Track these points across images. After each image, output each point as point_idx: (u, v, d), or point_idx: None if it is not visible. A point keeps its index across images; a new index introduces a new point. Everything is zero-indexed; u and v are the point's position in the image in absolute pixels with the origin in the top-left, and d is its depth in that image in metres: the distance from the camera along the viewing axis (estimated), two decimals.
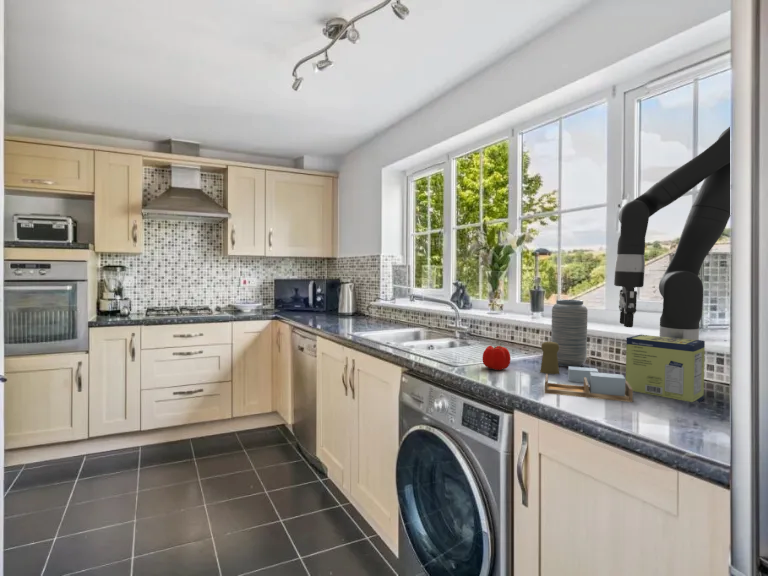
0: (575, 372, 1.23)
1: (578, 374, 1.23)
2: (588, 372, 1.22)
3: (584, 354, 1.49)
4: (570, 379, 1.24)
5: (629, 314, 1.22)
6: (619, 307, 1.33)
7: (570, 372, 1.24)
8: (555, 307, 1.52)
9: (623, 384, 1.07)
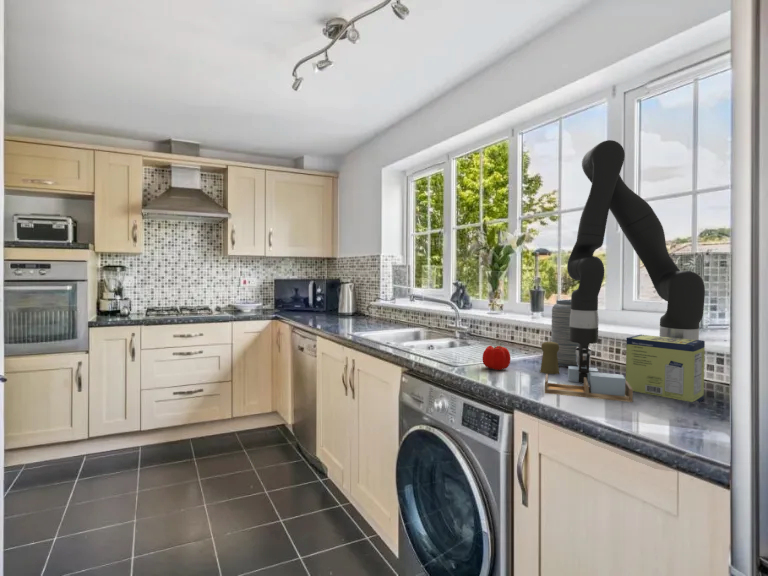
0: (575, 372, 1.23)
1: (578, 374, 1.23)
2: None
3: None
4: (570, 379, 1.24)
5: (583, 374, 1.21)
6: (577, 364, 1.29)
7: (570, 372, 1.24)
8: (555, 307, 1.52)
9: (623, 384, 1.07)
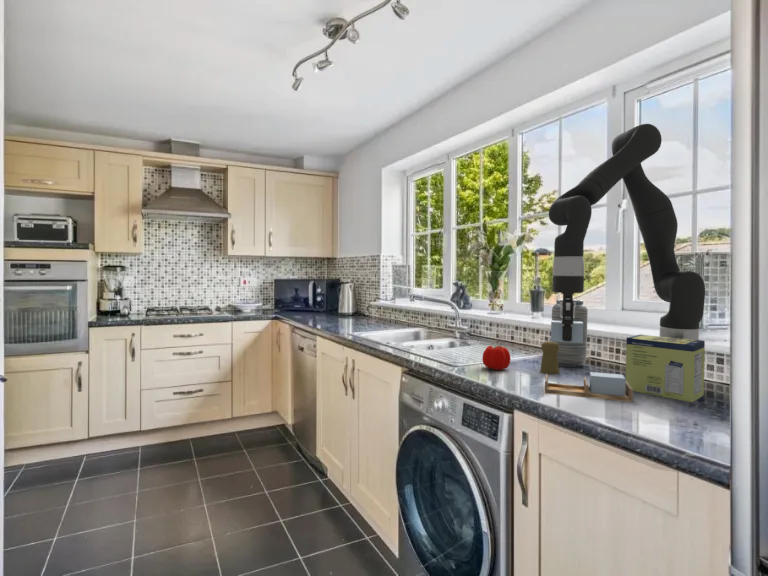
0: (557, 325, 1.12)
1: (561, 327, 1.12)
2: None
3: (584, 354, 1.49)
4: (552, 333, 1.12)
5: (567, 327, 1.10)
6: (561, 319, 1.17)
7: (552, 325, 1.12)
8: (555, 307, 1.52)
9: (623, 384, 1.07)
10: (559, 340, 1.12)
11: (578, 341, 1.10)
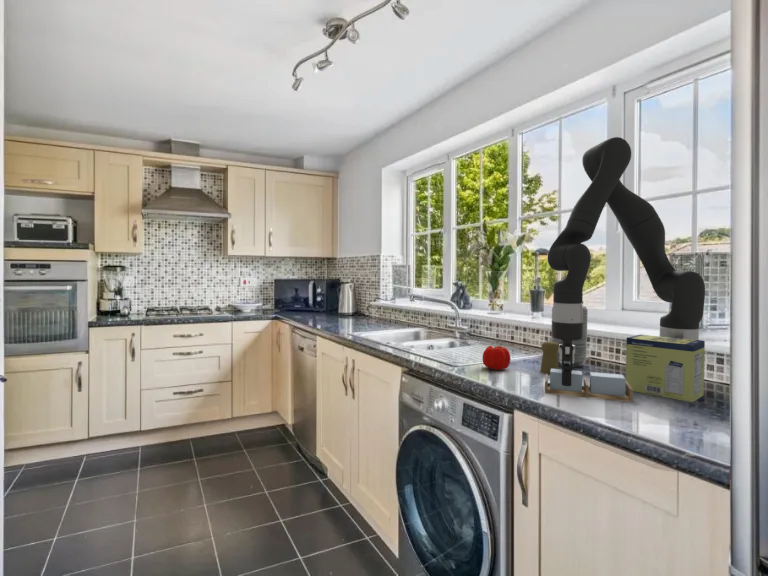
0: (556, 375, 1.12)
1: (560, 377, 1.12)
2: (571, 375, 1.11)
3: (584, 354, 1.49)
4: (551, 382, 1.13)
5: (566, 372, 1.08)
6: None
7: (551, 375, 1.13)
8: None
9: (623, 384, 1.07)
10: None
11: None
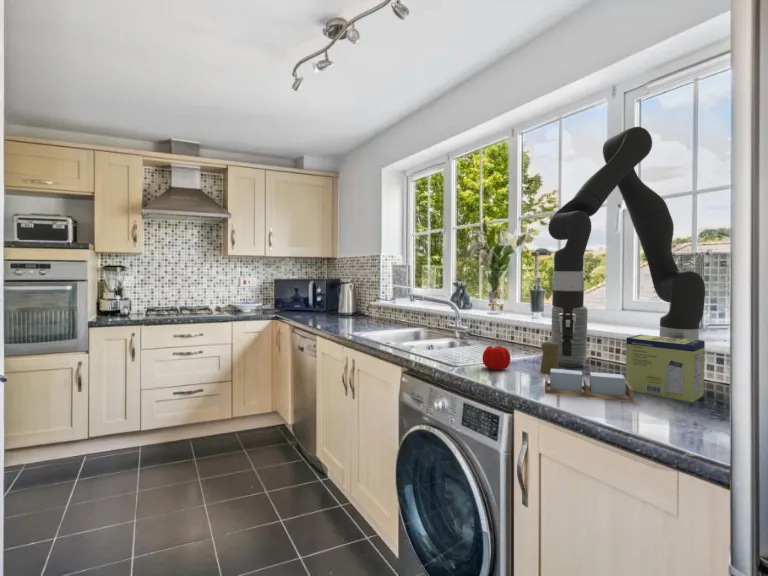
0: (556, 375, 1.12)
1: (560, 377, 1.12)
2: (571, 375, 1.11)
3: (584, 354, 1.49)
4: (551, 382, 1.13)
5: (566, 342, 1.11)
6: (561, 333, 1.17)
7: (551, 375, 1.13)
8: (555, 307, 1.52)
9: (623, 384, 1.07)
10: None
11: None
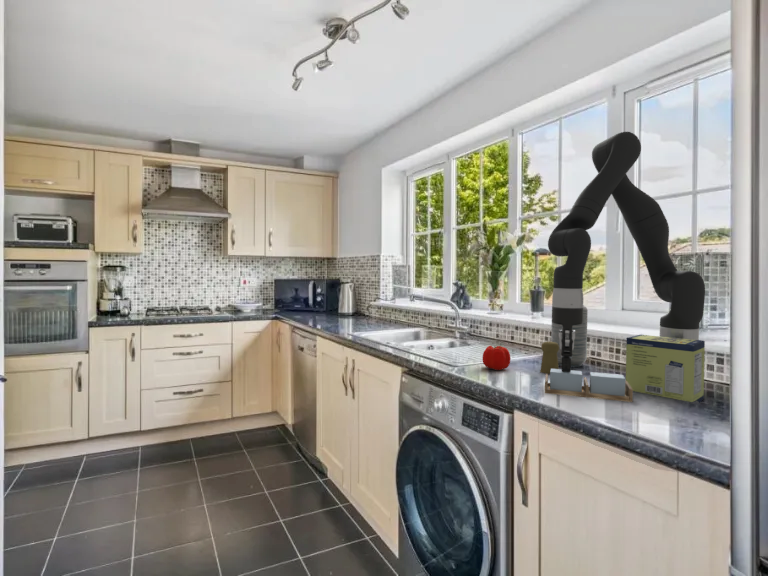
0: (556, 375, 1.12)
1: (560, 377, 1.12)
2: (571, 375, 1.11)
3: (584, 354, 1.49)
4: (551, 382, 1.13)
5: (566, 358, 1.12)
6: None
7: (551, 375, 1.13)
8: None
9: (623, 384, 1.07)
10: None
11: None
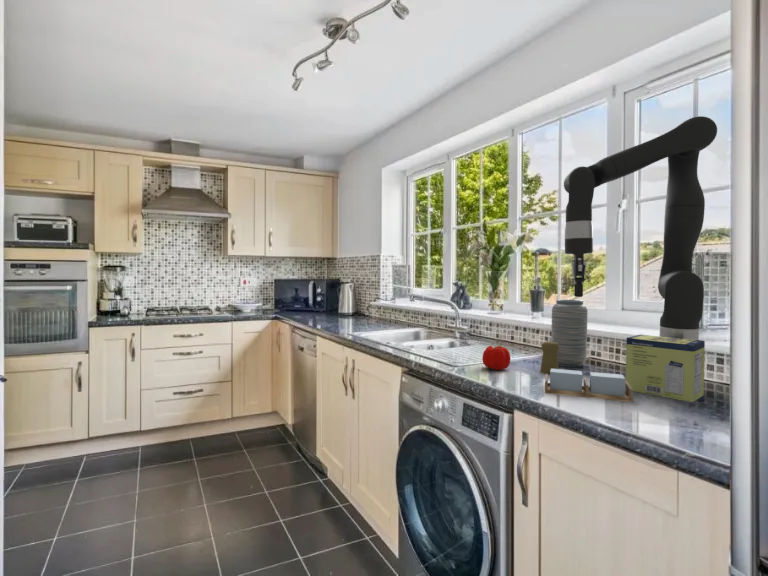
0: (556, 375, 1.12)
1: (560, 377, 1.12)
2: (571, 375, 1.11)
3: (584, 354, 1.49)
4: (551, 382, 1.13)
5: (578, 284, 1.25)
6: (573, 279, 1.29)
7: (551, 375, 1.13)
8: (555, 307, 1.52)
9: (623, 384, 1.07)
10: None
11: None
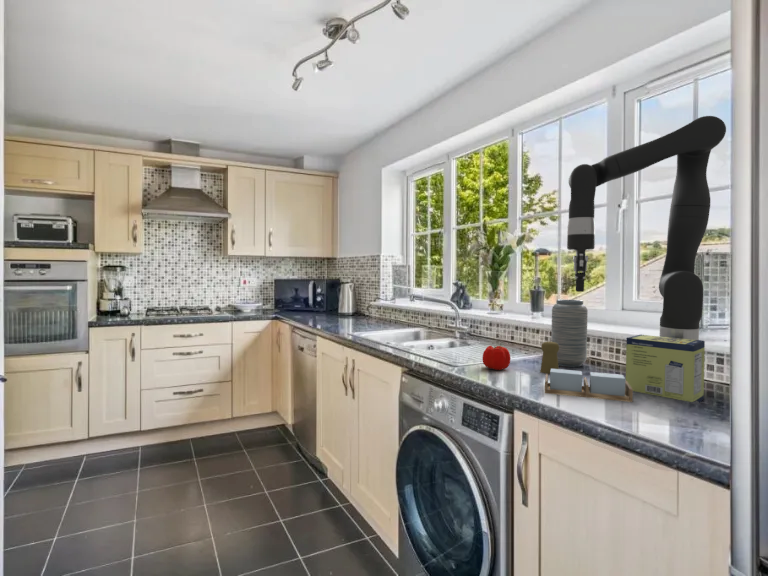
0: (556, 375, 1.12)
1: (560, 377, 1.12)
2: (571, 375, 1.11)
3: (584, 354, 1.49)
4: (551, 382, 1.13)
5: (580, 279, 1.28)
6: (575, 274, 1.32)
7: (551, 375, 1.13)
8: (555, 307, 1.52)
9: (623, 384, 1.07)
10: None
11: None
